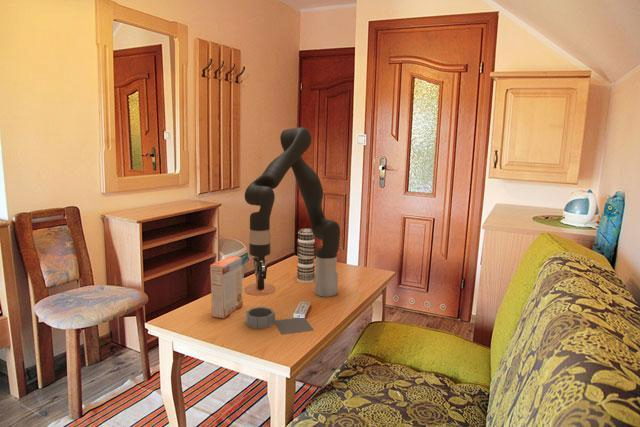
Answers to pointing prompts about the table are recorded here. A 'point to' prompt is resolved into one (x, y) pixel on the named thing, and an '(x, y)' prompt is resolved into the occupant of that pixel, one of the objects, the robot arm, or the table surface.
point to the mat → (293, 325)
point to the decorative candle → (305, 256)
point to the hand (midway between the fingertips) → (260, 287)
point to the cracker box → (226, 286)
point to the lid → (254, 290)
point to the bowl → (260, 317)
